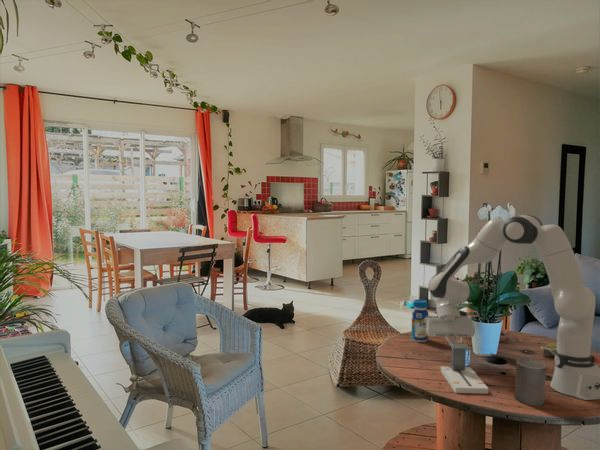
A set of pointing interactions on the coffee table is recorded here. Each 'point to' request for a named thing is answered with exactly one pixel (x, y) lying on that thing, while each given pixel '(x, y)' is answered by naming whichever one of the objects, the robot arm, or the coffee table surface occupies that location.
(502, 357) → the coffee table surface
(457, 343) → the fader tab
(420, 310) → the beverage bottle
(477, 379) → the board
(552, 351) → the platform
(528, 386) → the pillar candle
